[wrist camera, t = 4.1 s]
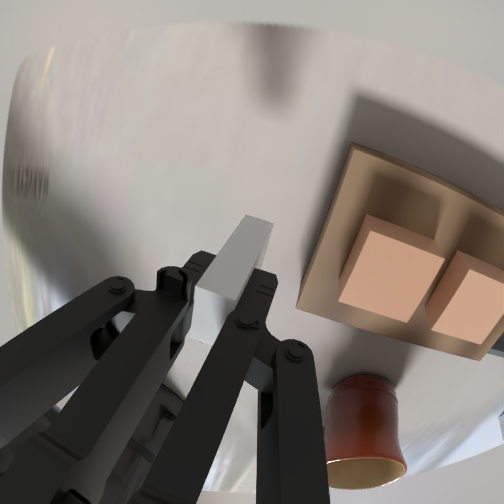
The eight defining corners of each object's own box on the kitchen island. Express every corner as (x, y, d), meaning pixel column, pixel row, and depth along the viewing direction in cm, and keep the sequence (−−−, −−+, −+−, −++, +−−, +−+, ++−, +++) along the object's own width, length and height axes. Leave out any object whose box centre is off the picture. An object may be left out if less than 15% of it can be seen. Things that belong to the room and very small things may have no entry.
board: (300, 285, 25) (295, 308, 23) (351, 141, 19) (354, 149, 17) (471, 339, 24) (479, 361, 21) (537, 231, 17) (555, 248, 15)
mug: (373, 351, 27) (375, 447, 18) (415, 391, 28) (422, 473, 19) (285, 396, 33) (265, 475, 24) (332, 427, 34) (322, 499, 25)
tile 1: (424, 307, 20) (430, 329, 18) (457, 249, 18) (469, 269, 15) (472, 323, 20) (480, 344, 17) (505, 271, 17) (518, 290, 15)
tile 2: (338, 279, 21) (338, 301, 19) (366, 213, 18) (370, 230, 16) (401, 299, 20) (407, 322, 18) (434, 240, 18) (445, 258, 16)
